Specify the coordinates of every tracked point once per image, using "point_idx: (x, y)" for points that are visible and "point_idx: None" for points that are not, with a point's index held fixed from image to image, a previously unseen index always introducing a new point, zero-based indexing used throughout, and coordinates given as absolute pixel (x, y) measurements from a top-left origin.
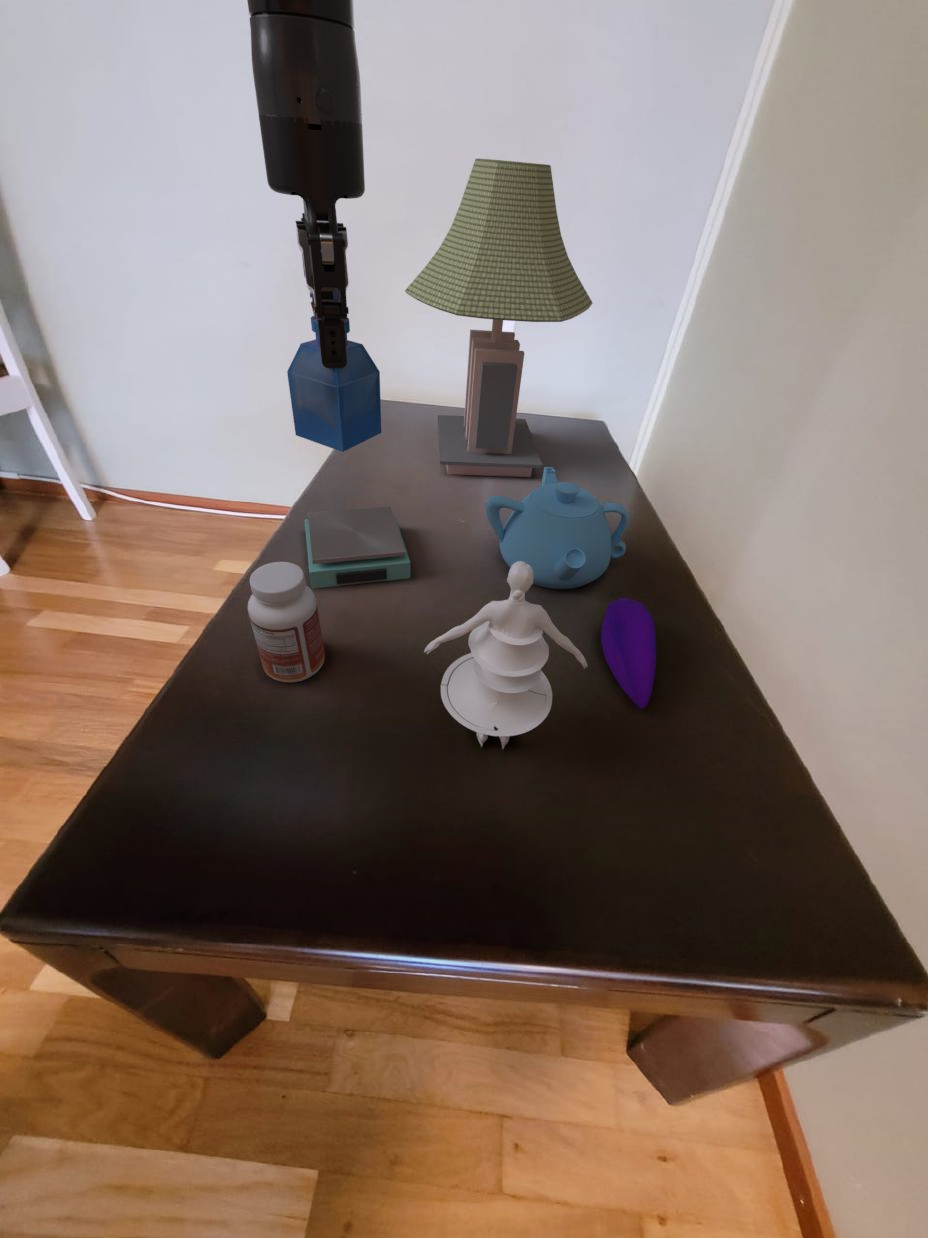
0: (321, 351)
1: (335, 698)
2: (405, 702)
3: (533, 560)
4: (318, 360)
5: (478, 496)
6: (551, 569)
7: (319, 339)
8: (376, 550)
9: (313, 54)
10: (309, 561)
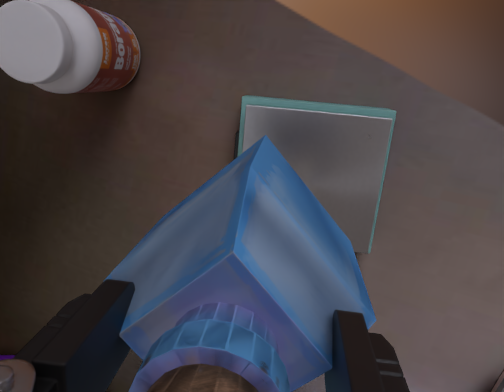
0: (90, 299)
1: (47, 91)
2: (32, 160)
3: None
4: (160, 274)
5: (414, 383)
6: None
7: (94, 319)
8: None
9: None
10: (269, 100)
